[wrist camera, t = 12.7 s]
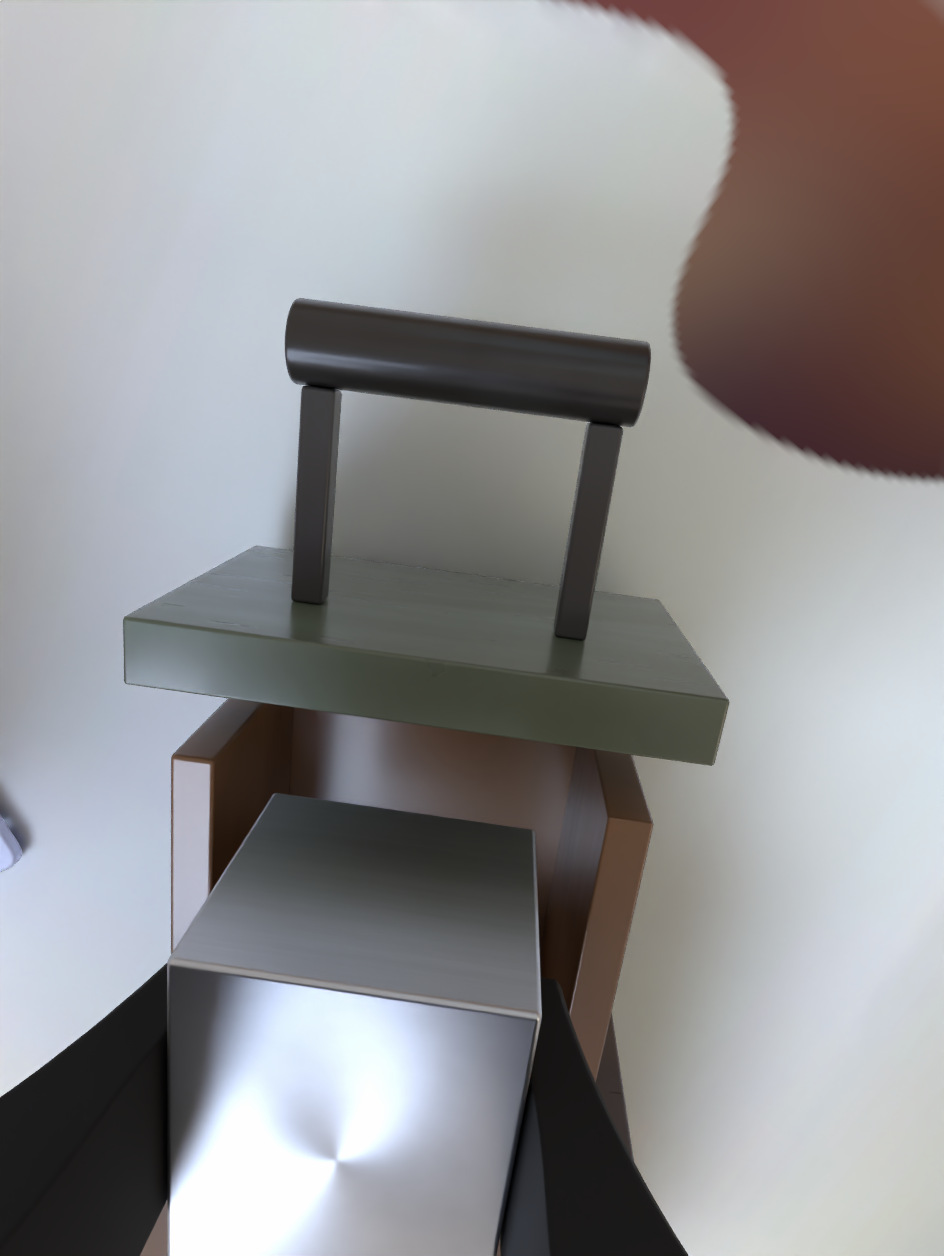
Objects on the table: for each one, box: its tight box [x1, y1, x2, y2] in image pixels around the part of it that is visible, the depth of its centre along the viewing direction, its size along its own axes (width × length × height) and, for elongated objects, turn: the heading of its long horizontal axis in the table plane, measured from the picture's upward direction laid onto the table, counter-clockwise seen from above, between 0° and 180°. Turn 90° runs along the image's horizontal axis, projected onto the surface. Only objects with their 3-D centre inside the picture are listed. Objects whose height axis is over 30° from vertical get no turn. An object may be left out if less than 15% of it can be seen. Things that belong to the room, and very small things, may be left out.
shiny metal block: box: [167, 793, 542, 1256], centre depth 11 cm, size 6×4×4 cm
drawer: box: [123, 298, 729, 1081], centre depth 16 cm, size 18×10×6 cm, turn 173°
